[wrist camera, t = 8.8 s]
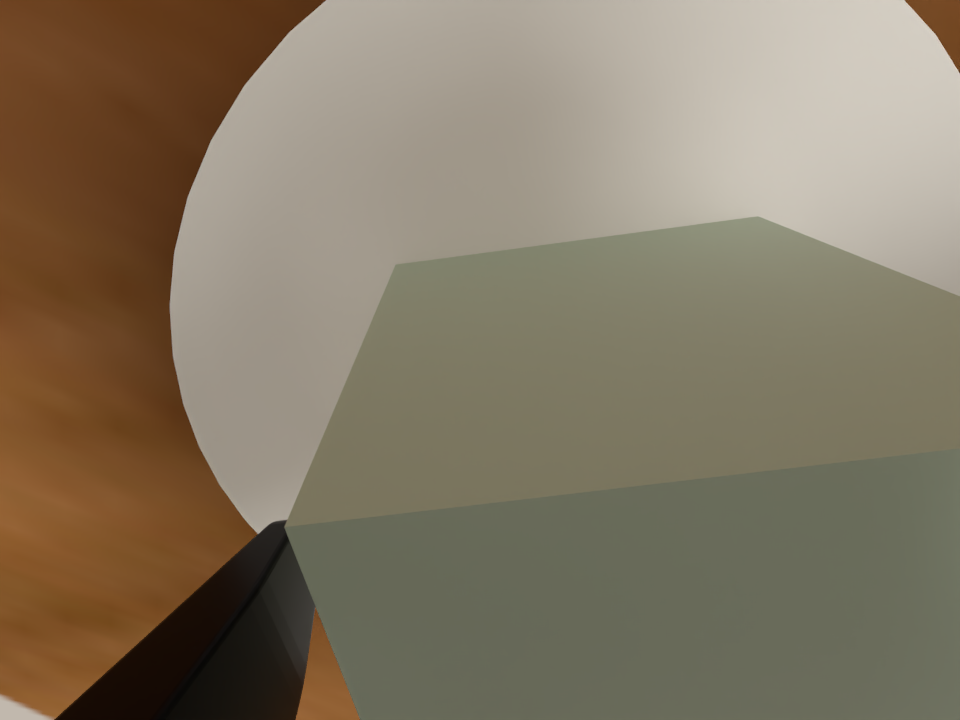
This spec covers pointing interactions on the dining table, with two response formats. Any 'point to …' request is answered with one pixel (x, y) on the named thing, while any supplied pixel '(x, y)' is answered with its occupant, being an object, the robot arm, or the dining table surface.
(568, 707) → the sage cube
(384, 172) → the plate
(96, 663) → the dining table surface
